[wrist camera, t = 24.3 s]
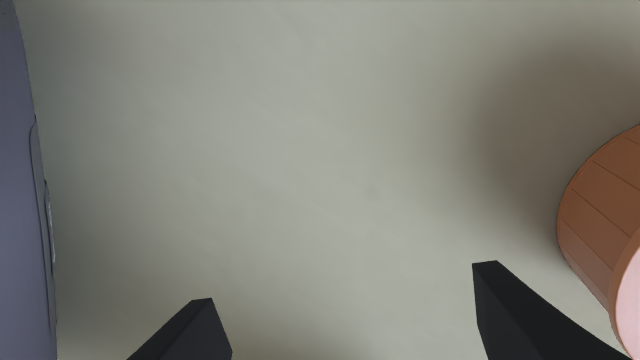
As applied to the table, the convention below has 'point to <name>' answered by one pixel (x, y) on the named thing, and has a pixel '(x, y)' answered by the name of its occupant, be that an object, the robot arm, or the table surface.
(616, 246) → the orange round open container
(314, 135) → the table surface
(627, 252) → the pot lid
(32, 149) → the bluetooth speaker
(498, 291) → the robot arm
